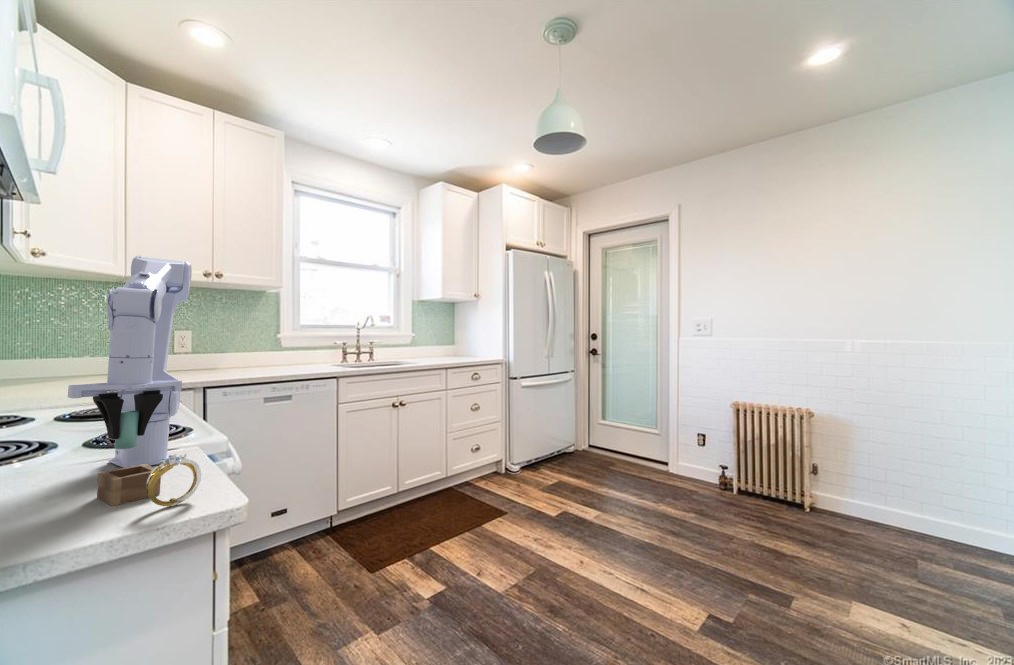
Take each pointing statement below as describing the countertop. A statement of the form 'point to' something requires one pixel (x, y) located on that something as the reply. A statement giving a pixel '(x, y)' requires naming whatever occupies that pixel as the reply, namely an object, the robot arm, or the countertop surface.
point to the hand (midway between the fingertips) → (126, 436)
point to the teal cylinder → (128, 430)
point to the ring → (170, 463)
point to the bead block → (125, 484)
